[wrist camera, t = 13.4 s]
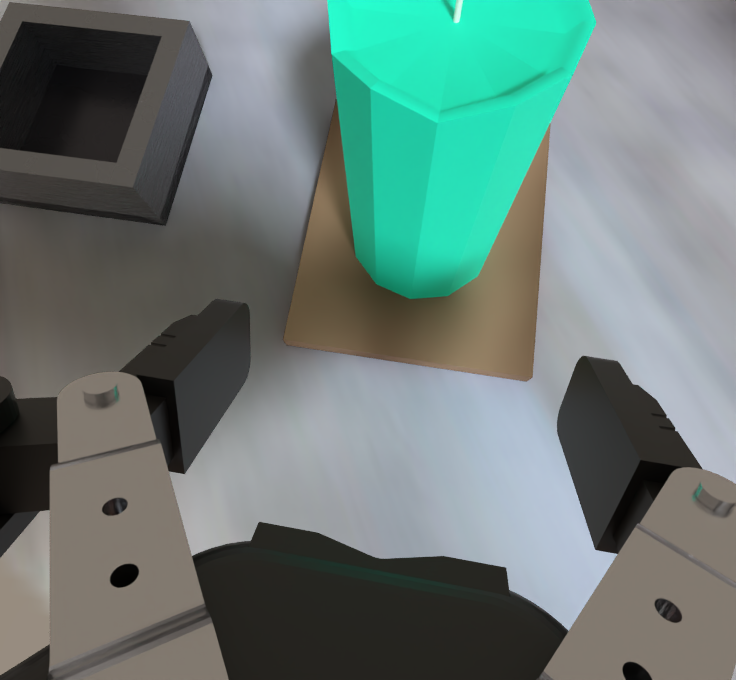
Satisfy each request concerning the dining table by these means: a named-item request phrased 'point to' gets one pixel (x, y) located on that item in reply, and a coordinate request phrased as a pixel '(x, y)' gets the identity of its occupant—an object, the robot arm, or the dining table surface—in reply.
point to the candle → (444, 124)
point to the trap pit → (97, 110)
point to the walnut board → (422, 315)
